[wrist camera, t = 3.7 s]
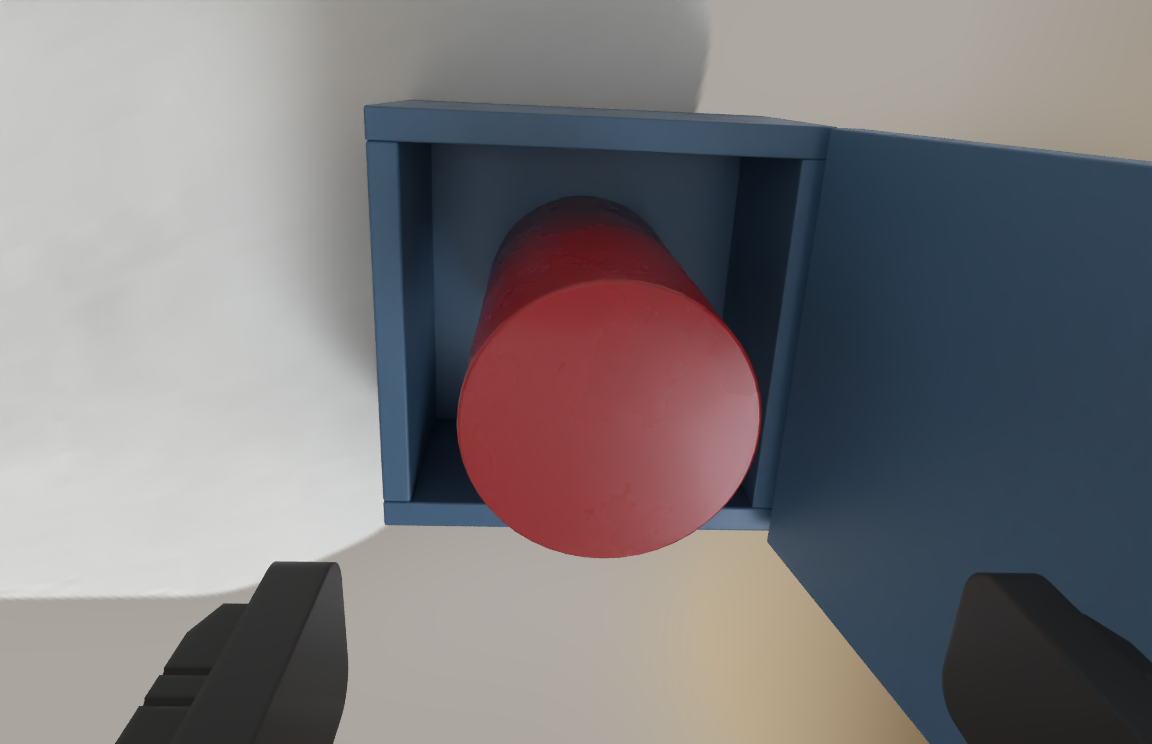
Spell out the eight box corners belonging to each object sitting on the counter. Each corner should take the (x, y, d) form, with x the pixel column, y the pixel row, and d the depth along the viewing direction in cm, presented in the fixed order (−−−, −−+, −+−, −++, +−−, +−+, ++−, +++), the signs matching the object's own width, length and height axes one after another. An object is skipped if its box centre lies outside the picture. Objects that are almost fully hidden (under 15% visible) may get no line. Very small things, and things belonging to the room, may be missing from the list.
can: (490, 370, 27) (457, 558, 16) (490, 191, 25) (454, 274, 14) (663, 374, 27) (742, 561, 17) (679, 199, 25) (783, 285, 15)
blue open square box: (418, 428, 29) (383, 525, 22) (408, 99, 25) (363, 105, 18) (723, 434, 29) (774, 531, 23) (763, 116, 25) (839, 127, 19)
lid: (1132, 998, 11) (1178, 985, 12) (1501, 206, 7) (1563, 207, 7) (766, 541, 22) (792, 539, 23) (830, 128, 18) (861, 129, 19)
